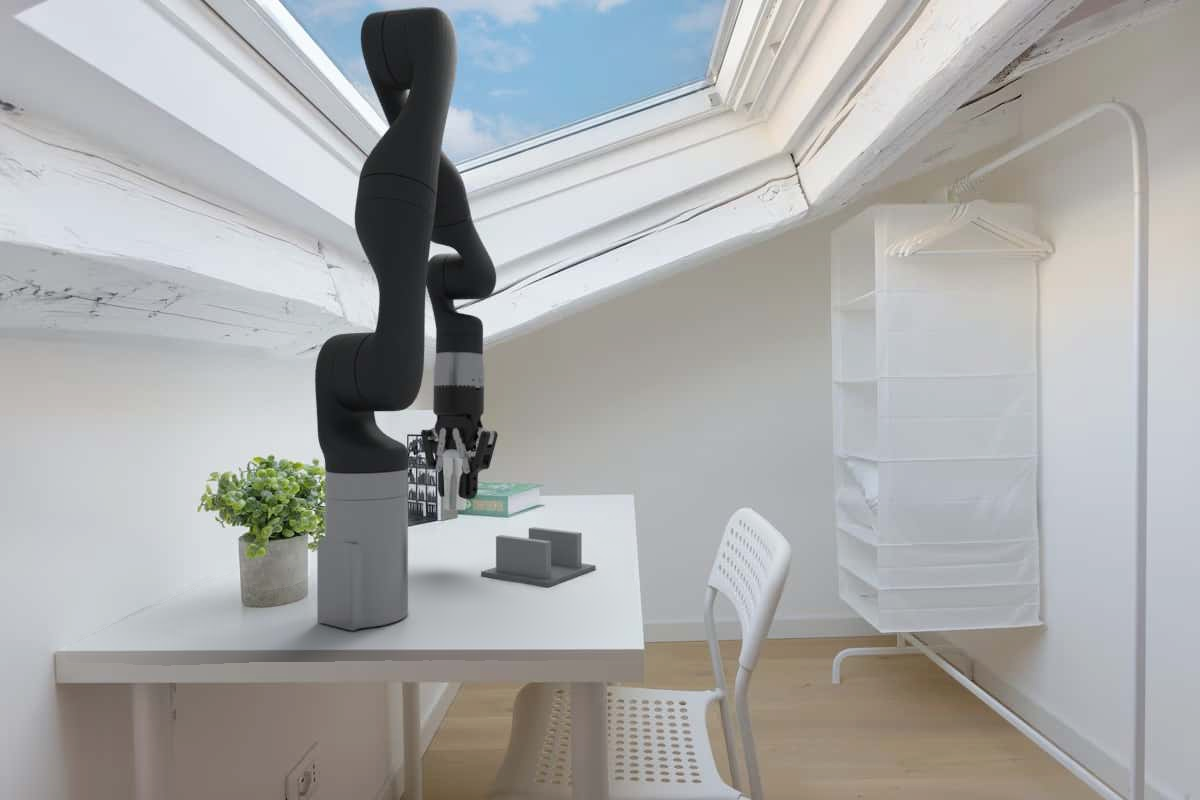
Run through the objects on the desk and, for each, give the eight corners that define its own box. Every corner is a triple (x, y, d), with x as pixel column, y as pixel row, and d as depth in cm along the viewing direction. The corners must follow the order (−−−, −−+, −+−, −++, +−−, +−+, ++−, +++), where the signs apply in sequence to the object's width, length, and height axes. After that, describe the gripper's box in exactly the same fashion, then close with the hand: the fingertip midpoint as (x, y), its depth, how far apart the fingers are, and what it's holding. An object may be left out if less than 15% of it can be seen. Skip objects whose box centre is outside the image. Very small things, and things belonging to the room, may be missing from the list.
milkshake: (472, 512, 105) (475, 444, 105) (436, 510, 105) (439, 442, 105) (478, 507, 109) (481, 443, 110) (443, 506, 109) (446, 441, 110)
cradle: (548, 587, 96) (548, 545, 96) (481, 575, 103) (481, 537, 103) (595, 569, 107) (595, 532, 107) (531, 560, 113) (531, 524, 113)
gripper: (407, 384, 108) (405, 496, 108) (478, 382, 101) (476, 503, 100) (442, 386, 115) (440, 492, 114) (511, 384, 107) (510, 498, 107)
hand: (457, 496), depth 107 cm, fingers closed on milkshake, 4 cm apart
